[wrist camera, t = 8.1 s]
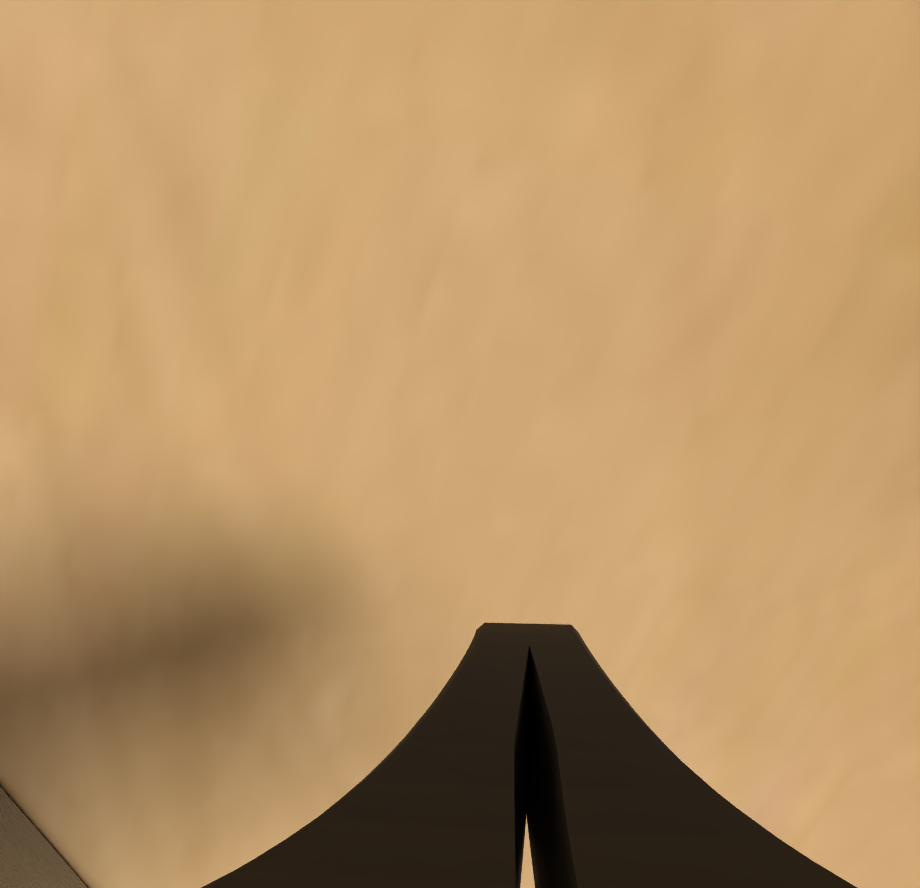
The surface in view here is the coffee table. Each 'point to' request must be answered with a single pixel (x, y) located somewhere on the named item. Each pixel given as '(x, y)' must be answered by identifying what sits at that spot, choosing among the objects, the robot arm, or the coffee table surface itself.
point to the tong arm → (29, 854)
